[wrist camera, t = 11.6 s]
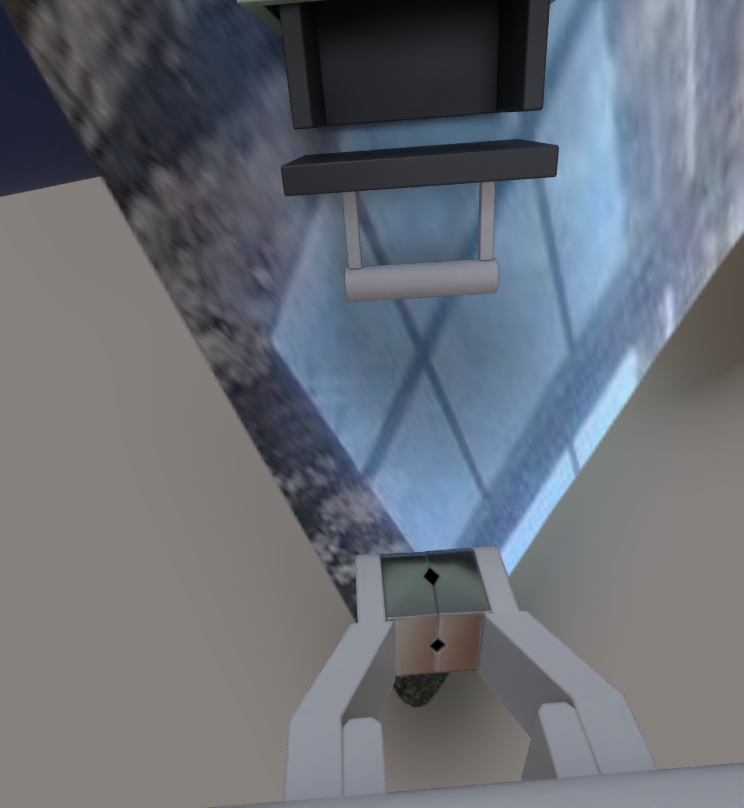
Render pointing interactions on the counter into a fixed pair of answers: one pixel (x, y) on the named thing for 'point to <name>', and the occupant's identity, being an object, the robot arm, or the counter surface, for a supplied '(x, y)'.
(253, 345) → the counter surface
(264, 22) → the drawer cabinet
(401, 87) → the drawer with bar handle
